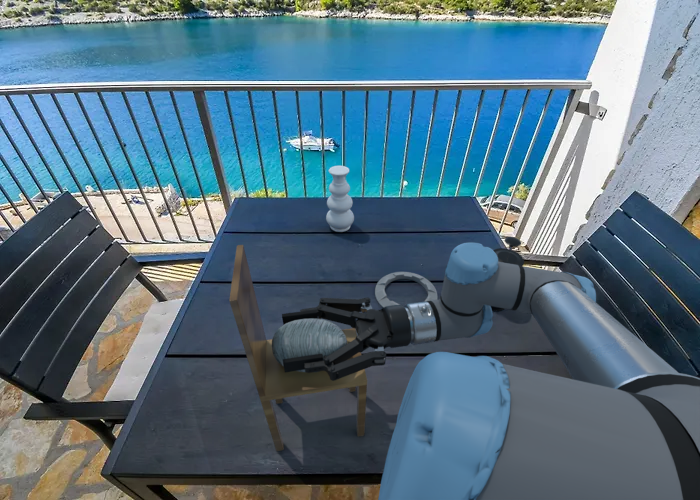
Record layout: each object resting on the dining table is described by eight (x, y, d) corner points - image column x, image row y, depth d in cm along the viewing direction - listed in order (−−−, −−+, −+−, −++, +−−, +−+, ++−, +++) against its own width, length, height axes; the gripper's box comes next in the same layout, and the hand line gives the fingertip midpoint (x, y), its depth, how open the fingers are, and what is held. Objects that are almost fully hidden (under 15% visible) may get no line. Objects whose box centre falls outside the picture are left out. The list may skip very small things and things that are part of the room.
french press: (501, 287, 112) (523, 229, 98) (515, 309, 104) (541, 249, 90) (466, 290, 111) (483, 231, 97) (478, 313, 103) (498, 253, 89)
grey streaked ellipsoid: (267, 374, 64) (271, 369, 55) (271, 322, 68) (276, 310, 59) (339, 375, 67) (354, 370, 59) (339, 326, 71) (353, 314, 63)
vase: (356, 221, 142) (357, 164, 126) (350, 237, 134) (350, 177, 118) (330, 218, 144) (328, 161, 128) (323, 233, 136) (319, 174, 120)
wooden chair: (364, 435, 76) (372, 283, 48) (276, 451, 74) (228, 300, 45) (354, 385, 85) (356, 233, 57) (276, 397, 83) (236, 245, 54)
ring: (401, 327, 99) (402, 323, 98) (363, 287, 112) (363, 282, 111) (450, 300, 107) (451, 296, 106) (409, 265, 120) (410, 261, 119)
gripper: (392, 270, 70) (279, 283, 67) (429, 364, 53) (281, 387, 50) (390, 296, 75) (284, 309, 72) (423, 389, 58) (287, 412, 55)
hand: (283, 341), depth 61 cm, fingers closed on grey streaked ellipsoid, 9 cm apart
